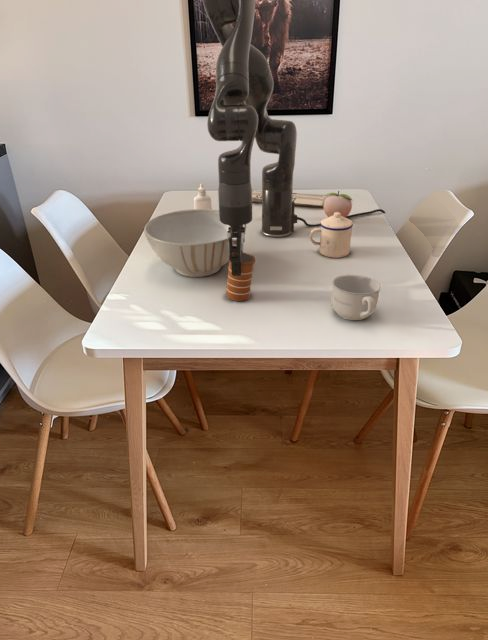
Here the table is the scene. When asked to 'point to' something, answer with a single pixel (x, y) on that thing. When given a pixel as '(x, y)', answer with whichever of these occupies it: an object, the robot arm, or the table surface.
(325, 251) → the teacup with lid
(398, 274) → the table surface
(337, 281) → the teacup
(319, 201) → the newspaper
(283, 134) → the robot arm
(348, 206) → the decorative fruit
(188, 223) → the decorative bowl
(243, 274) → the brown striped cylinder
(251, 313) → the table surface
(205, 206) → the eye dropper bottle
